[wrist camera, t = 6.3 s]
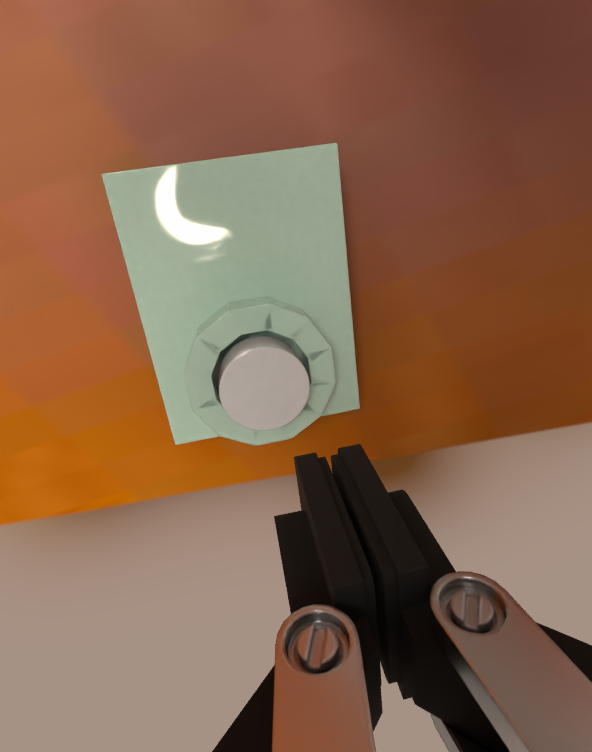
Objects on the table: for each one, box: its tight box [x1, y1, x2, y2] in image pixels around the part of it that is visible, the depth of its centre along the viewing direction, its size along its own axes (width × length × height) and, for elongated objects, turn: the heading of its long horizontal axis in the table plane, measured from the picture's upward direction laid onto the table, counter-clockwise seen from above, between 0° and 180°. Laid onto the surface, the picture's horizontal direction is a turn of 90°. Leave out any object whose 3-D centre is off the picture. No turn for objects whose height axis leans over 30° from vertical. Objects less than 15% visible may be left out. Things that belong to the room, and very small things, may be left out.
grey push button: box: [219, 336, 310, 431], centre depth 20 cm, size 4×4×2 cm
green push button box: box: [102, 143, 360, 446], centre depth 22 cm, size 13×10×5 cm
